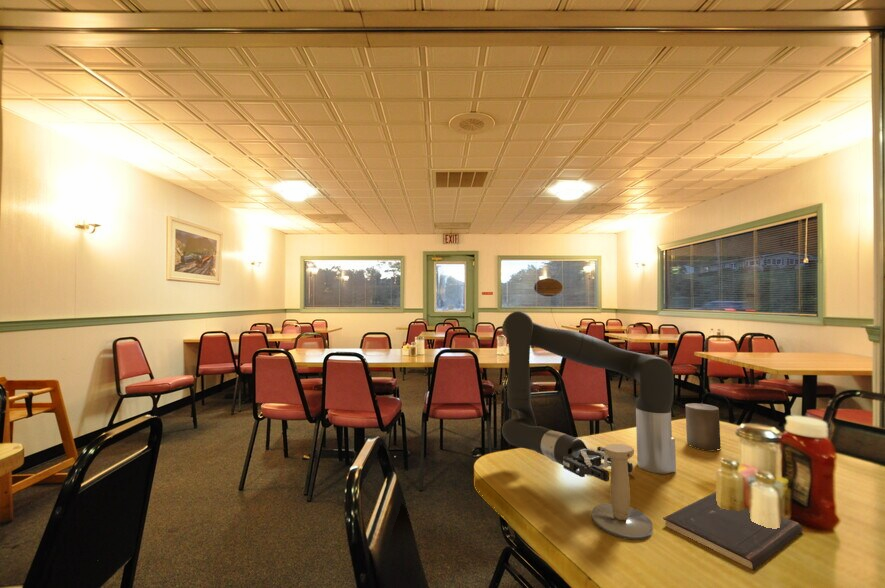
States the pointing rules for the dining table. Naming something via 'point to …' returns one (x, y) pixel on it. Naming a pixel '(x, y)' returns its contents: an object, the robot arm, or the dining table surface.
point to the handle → (619, 479)
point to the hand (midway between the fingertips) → (620, 472)
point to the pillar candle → (703, 426)
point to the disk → (622, 523)
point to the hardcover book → (731, 531)
